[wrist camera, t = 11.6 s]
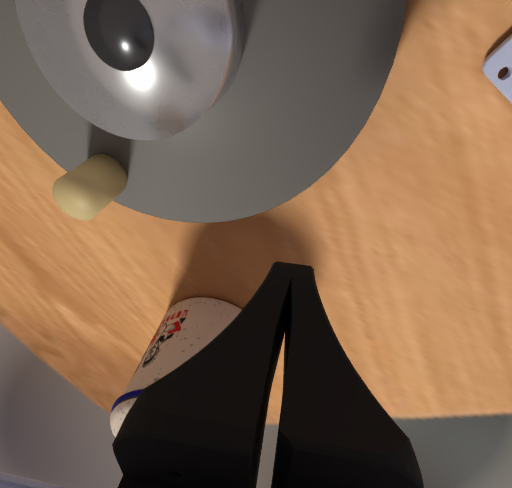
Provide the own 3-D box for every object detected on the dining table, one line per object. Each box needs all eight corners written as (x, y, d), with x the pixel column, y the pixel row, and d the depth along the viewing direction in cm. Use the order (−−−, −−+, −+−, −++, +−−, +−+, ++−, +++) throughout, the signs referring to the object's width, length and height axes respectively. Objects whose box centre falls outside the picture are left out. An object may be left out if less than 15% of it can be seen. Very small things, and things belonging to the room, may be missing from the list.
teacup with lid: (174, 275, 27) (88, 427, 17) (284, 319, 27) (259, 489, 18) (148, 360, 34) (77, 501, 24) (236, 394, 34) (200, 544, 25)
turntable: (456, 115, 17) (496, 152, 13) (150, 246, 25) (115, 294, 21) (251, -667, 8) (175, -1300, 4) (-114, -79, 16) (-259, -104, 12)
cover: (277, 70, 15) (267, 85, 13) (142, 146, 18) (112, 170, 16) (172, -165, 12) (128, -208, 9) (27, -21, 15) (-35, -24, 12)
